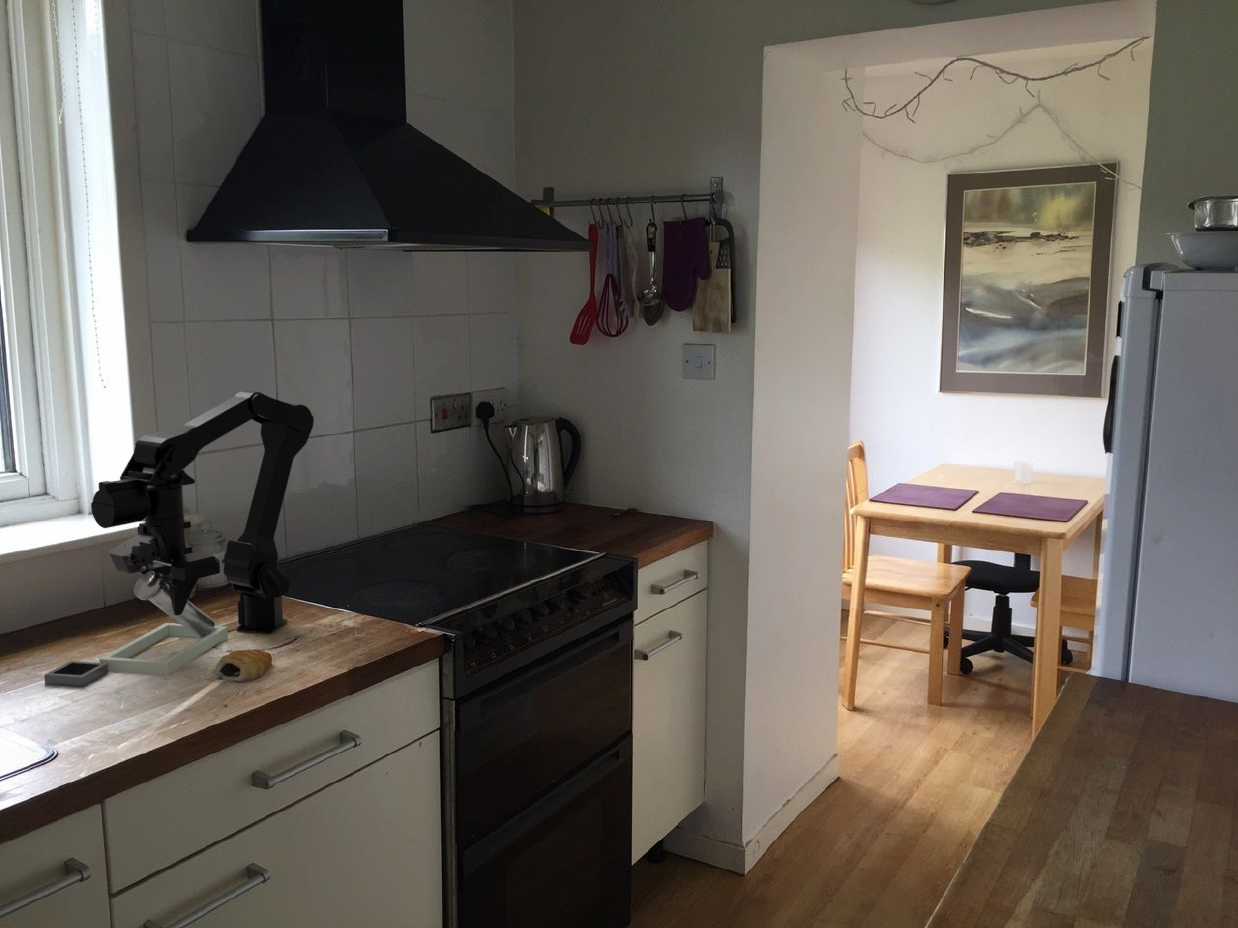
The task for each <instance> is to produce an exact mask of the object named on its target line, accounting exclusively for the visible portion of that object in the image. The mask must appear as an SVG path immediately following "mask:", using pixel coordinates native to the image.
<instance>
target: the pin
mask: <svg viewBox="0 0 1238 928" xmlns="http://www.w3.org/2000/svg"><path fill="white" fill-rule="evenodd" d="M162 576H163V575H162V574H161V573H159V572H158V571H156V570H152V571H149V572H147V573H145V574H144V575H143V576H141V575H140V577H139V578H138V579H137V581H136V583H135V585H134V588H133V594H134V596H135V597H137V598H138V599H139V600H141V601H149V602H150V603H152V604H153V605H155V606H156V607H159V608H160V609H161V610H163V611H162V612H164V613H165V614H167V615H168V616H169V617H171V618H172V619H173V620H175V621H176V622H177V623H178V624H181V625H183V626H184V627H185V628H187V629H188V630H189V631H191V632H192V633H193V634H195V635H196V636H197V637H199V638H204V637H205V636H207V635H208V634H210V633H211V632H212V631H213V629H214V626H216V622H215V620H214V619H213V618H211V617H210V616H209V615H208V614H206V612H204V611H202V610H201V609H200V608H199V607H197V606H196V605H194V604H193V603H192V602H191V601H190V600H188V601H187V603H186V606H185V608H184V610H183V612H182V614H181V615H177V616H176V615H174V611H173V607H172V600H171V594H170V588H169V585H168V584H166V583H165V582H164V580H163V579H161V577H162ZM159 608H158V609H159Z"/></svg>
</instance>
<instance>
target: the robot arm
mask: <svg viewBox="0 0 1238 928" xmlns="http://www.w3.org/2000/svg"><path fill="white" fill-rule="evenodd" d="M249 421H252V422H255V423H257V424H260V425H261V426H260V437H261V441H262V445H263V448H264V452H263V456H262V461H261V465H260V469H259V473H258V476H257V481H256V484H255V488H254V492H253V496H252V500H251V503H250V508H249V511H248V514H247V515H248V517H247V519H246V523H245V527H244V530H243V532H242V534H241V535H240V536H239V538H238V539H237V540H235V539H234V540H233V539H229V540H228V541H227V544H226V550H225V555H224V558H222V560H221V563H220V559H218V558H217V557H216V556H215V555H211V554H207V553H204V552H203V553H202V552H198V553H193V546H191V545H187V540H186V539H187V538H186V535H187V534H186V529H190V528H192V523H191V520H186V519H185V503H184V489H183V488H184V487H183V486H188V485H189V486H191V485H193V484H195V482H196V480H195V478H193V477H191V475H189V474H188V473H186V471H185V469H186V468H187V467H188V466H189V465H190V464H192V463H193V462H194V461H195V460H196V458H197V456H198V454H199V452H200V451H201V450H202V449H204V448H205V447H206V446H208V445H210V444H212V443H214V442H215V441H217V440H219V439H220V438H222V437H223V436H226V435H227V434H229V433H231V432H232V431H234V430H235V429H237V428H239V427H241V426H243V425H244V424H246V423H247V422H249ZM314 424H315V418H314V415H313V414H312V411H311V409H310V408H309V407H308V406H306V405H304V404H297V403H296V404H295V403H288V402H285V401H281V400H279V399H276V398H272V397H270V396H268V395H266V394H264V393H262V392H259V391H249V390H242V391H241V390H240V391H239V392H237V393H236V394H235V395H234V396H233V397H231V398H229V399H228V400H226V401H224V402H222V403H220V404H218V405H216V406H215V407H212V408H211V409H210V410H208V411H206V412H204V413H202V414H201V415H198V416H196V417H195V418H193V419H191V420H190V421H188V422H185V424H182V425H179V426H176V427H171V428H166V429H161V430H158V431H155V432H152V433H148V434H146V435H143V436H142V437H140V438H138V440H136V442H135V444H134V446H135V447H134V450H133V453H132V455H131V458H129V460H128V462H127V464H126V465H125V467H124V469H123V472H122V473H121V475H120V476H119V479H118V480H114V481H113V480H112V481H109V480H105V481H100V482H98V490H97V491H95V493H94V494H93V497H92V502H91V503H90V504H91V505H90V507H91V508H90V509H91V513H92V517H93V519H94V521H95V523H96V524H97V525H98V526H99V527H101V528H103V529H108V528H109V529H110V528H113V527H119V526H124V525H128V524H135V523H138V522H139V523H138V524H139V525H138V527H137V534H136V535H134V537H130V538H128V539H126V540H125V541H123V542H122V543H120V544H119V545H117V546H115V547H113V548H112V549H110V550H109V552H108V554H109V556H110V558H111V560H112V563H113V566H114V567H115V569H116V571H118V572H121V571H122V572H125V573H126V574H135V573H136V574H138V575H139V576H140V577H141V576H143V575H144V574H145V573H147V572H149V571H152V570H156V571H158V572H159V573H161V574H162V575H163V576H162V577H161V579H163V580H164V582H165V583H166V584H168V585H169V588H170V594H171V600H172V607H173V611H174V615H176V616H177V615H181V614H182V612H183V610H184V608H185V606H186V603H187V601H189V599H190V597H191V595H192V591H193V590H194V588H195V586H196V584H197V583H198V581H199V579H203V578H208V577H210V576H214V575H218V574H220V572H221V564H223V575H224V576H225V577H226V580H227V581H228V582H230V585H231V587H232V590H233V592H235V593H238V592H239V600H238V601H237V616H238V617H237V621H238V625H239V626H237V627H235V629H236V631H237V632H246V633H247V632H248V633H263V634H264V633H265V634H271V633H274V632H275V631H277V630H278V629H280V628H281V627H283V626H284V625H285V624H287V623H288V619H286V618H284V613H283V612H284V609H283V595H286V594H288V592H289V589H290V585H291V581H290V580H289V578H287V576H285V575H284V574H283V573H282V572H281V571H279V569H278V560H279V554H278V550H277V546H276V542H275V536H276V535H275V534H276V530H277V527H278V524H279V519H280V516H281V515H280V514H281V511H282V507H283V503H284V498H285V495H286V492H287V487H288V483H289V480H290V476H291V472H292V467H293V463H294V459H295V457H296V456H297V455H298V453H299V452H300V451H301V450H302V449H303V448H304V447H305V445H306V444H307V443H308V441H309V438H310V435H311V432H312V430H313V428H314ZM149 472H150V473H149ZM142 521H144V522H142ZM140 522H142V523H140ZM192 553H193V554H192ZM189 554H190V555H189ZM186 555H187V556H186ZM158 610H159V611H160V612H164V611H163V610H161V609H160V608H159V607H158Z"/></svg>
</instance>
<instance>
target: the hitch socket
mask: <svg viewBox="0 0 1238 928" xmlns="http://www.w3.org/2000/svg"><path fill="white" fill-rule="evenodd" d="M108 674H109V671H108V663H100V662H94V661H93V662H92V661H80V660H79V661H78V660H69V661H68V662H66V663H64V664H62V665H60V666H59V667H56V668H54V669H53V670H50V671H48V672H47V673H45V674H44V685H45V686H53V687H55V686H56V687H67V688H68V687H69V688H70V687H71V688H81V689H82V688H85V687H87V686H88V685H91V683H94V682H95V681H97V680H99V679H101V678H102V677H104V676H106V675H108Z"/></svg>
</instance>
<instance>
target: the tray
mask: <svg viewBox="0 0 1238 928" xmlns="http://www.w3.org/2000/svg"><path fill="white" fill-rule="evenodd" d="M228 628H229V627H228V626H221V625H219V626H218V625H215V626H214V629H213V631H212V632H211V633H210V634H208V635H207V636H205V637H204V638H199V637H197V636H196V635H195V634H193V633H192V632H191V631H189V630H188V629H187V628H185V627H184V626H183V625H181V624H180V623H172V622H165V623H163V624H161V625H159V626H158V627H155V628H154V629H151V630H150V631H148V632H146V633H145V634H143V635H141V636H139V637H137V638H135V639H133V640H131V641H130V642H129V643H126V644H124V645H122V646H121V647H119V648H117V649H115V650H114V651H111V652H110V653H108V654H106V655H104V656H102V657H100V658H99V660H98V661H99V663H108V672H122V673H123V672H124V673H136V674H137V673H138V674H150V675H151V674H152V675H165V676H168V675H170V674H171V673H174V672H175V671H176V670H178V669H179V668H182V666H184V665H186V664H188V663H189V662H191V661H192V660H194V659H195V658H197V657H198V656H200V655H202V654H203V653H205V652H207V651H208V650H209V649H211V648H213V647H214V646H216V645H217V644H219V643H221V642H228V641H229V632H228V631H229V630H228ZM165 638H171V639H172V638H173V639H189V640H197V641H196V642H193V643H192V644H191V645H188V646H187V647H186V648H184V649H182V650H180V651H179V652H177V653H175V654H174V655H172V656H171V657H169V658H167V659H165V660H158V659H140V658H131V657H133V656H134V655H137V654H138V653H140V652H141V651H143V650H145V649H147V648H148V647H149V648H150V647H151V646H152V645H154V644H155V643H157V642H159V641H161V640H163V639H165Z"/></svg>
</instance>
